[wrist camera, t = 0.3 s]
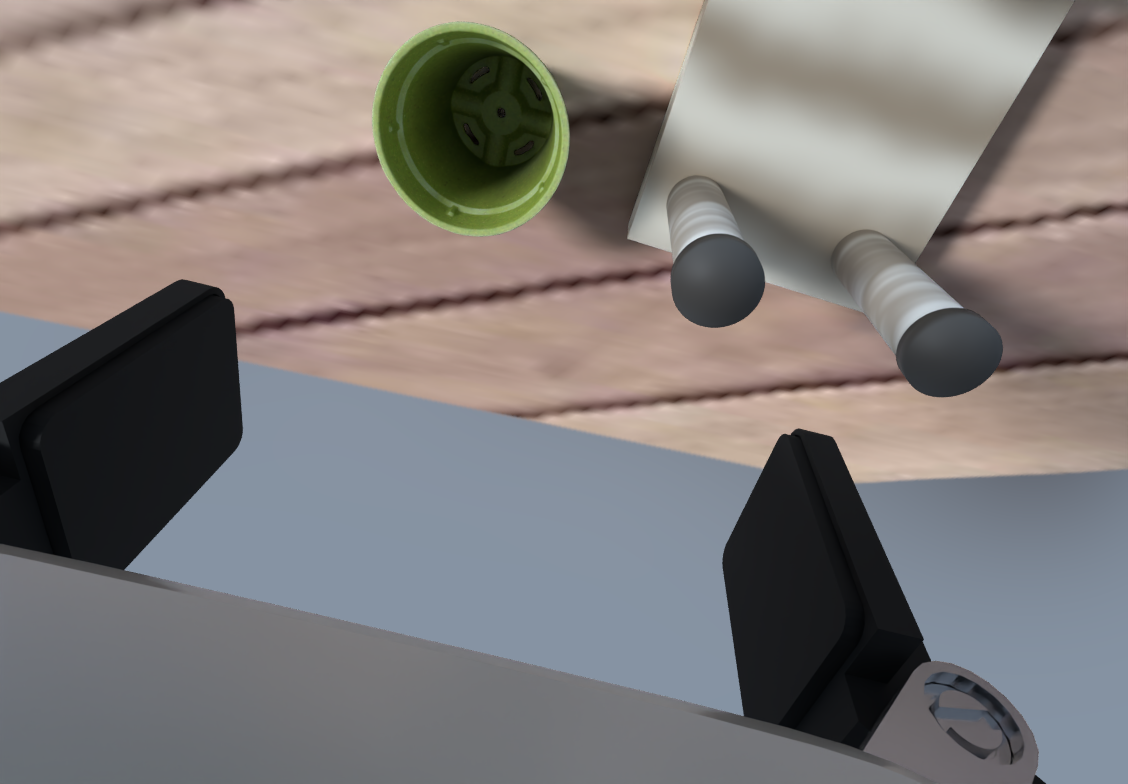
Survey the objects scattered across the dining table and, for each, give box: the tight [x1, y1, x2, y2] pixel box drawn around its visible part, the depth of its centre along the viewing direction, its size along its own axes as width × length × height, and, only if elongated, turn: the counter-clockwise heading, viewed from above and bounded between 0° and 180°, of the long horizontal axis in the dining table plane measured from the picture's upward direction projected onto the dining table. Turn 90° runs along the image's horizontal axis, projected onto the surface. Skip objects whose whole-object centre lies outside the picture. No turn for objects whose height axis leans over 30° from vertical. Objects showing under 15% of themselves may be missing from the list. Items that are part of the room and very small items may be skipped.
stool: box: [627, 0, 1075, 397], centre depth 28 cm, size 22×16×16 cm
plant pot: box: [372, 22, 570, 237], centre depth 33 cm, size 9×9×9 cm
